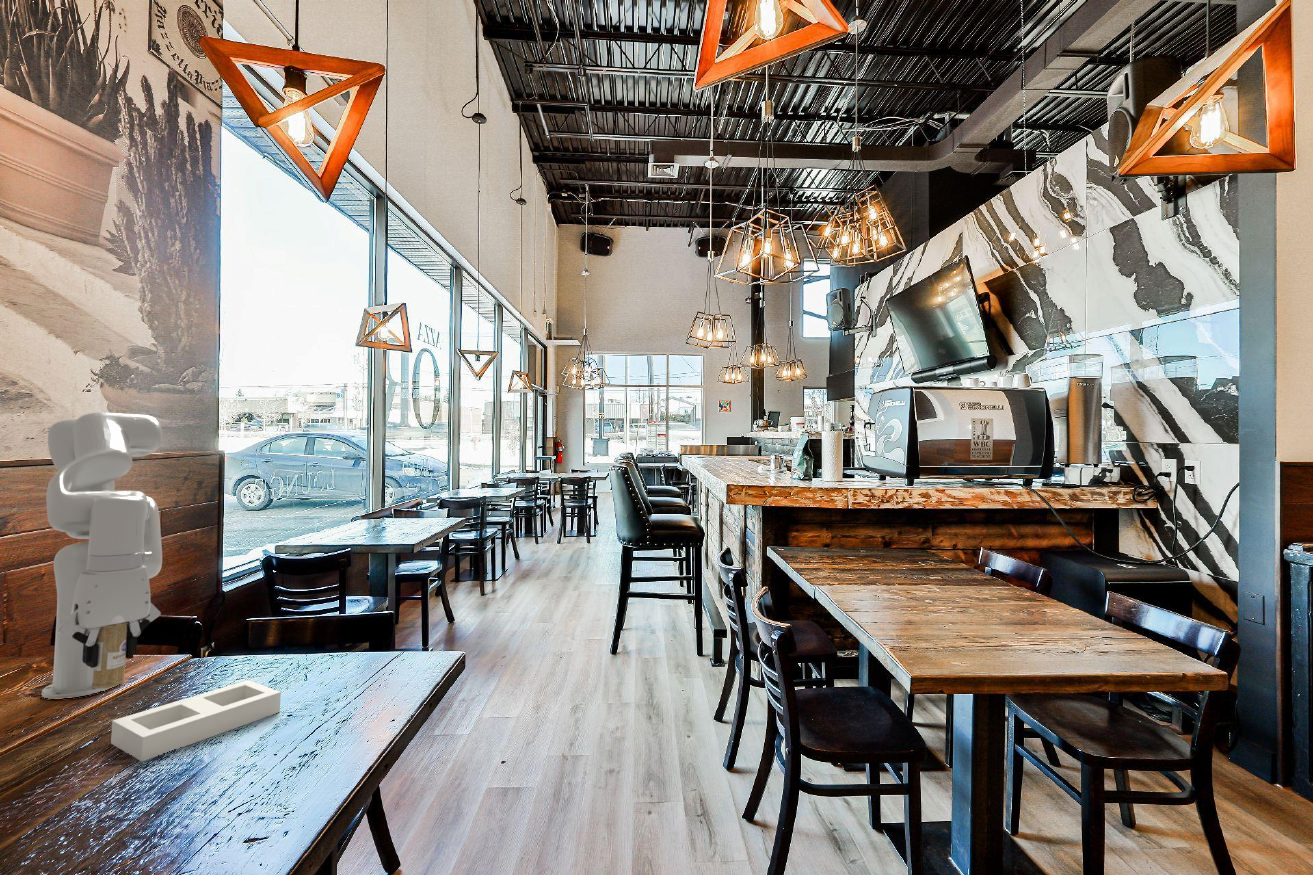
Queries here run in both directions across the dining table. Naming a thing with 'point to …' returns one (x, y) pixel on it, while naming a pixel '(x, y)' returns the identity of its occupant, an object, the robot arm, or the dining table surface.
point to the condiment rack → (193, 719)
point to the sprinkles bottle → (111, 654)
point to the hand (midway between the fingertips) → (109, 660)
